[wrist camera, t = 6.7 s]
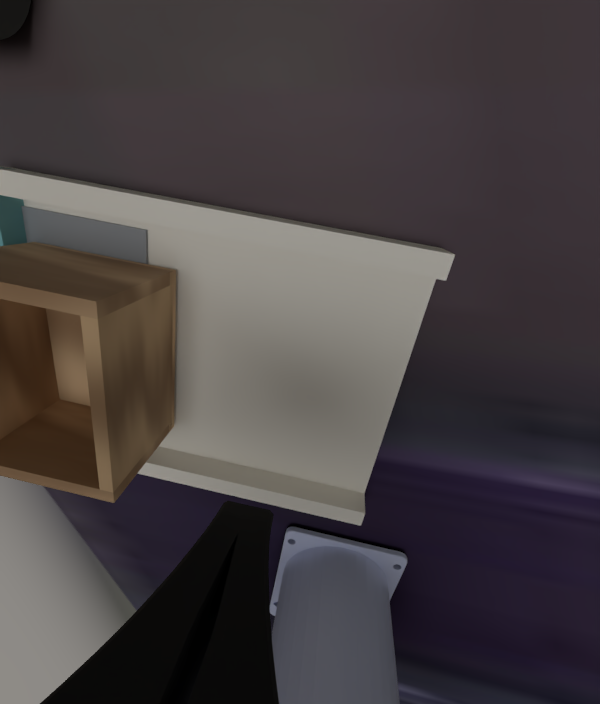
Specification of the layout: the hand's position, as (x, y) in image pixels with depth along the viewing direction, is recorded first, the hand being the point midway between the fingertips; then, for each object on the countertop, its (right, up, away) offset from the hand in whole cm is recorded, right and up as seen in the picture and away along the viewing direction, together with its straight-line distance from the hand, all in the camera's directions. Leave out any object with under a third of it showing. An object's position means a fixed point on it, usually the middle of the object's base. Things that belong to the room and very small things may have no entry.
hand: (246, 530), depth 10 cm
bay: (-3, +5, +9) cm, 10 cm away
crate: (-8, +6, +8) cm, 13 cm away
